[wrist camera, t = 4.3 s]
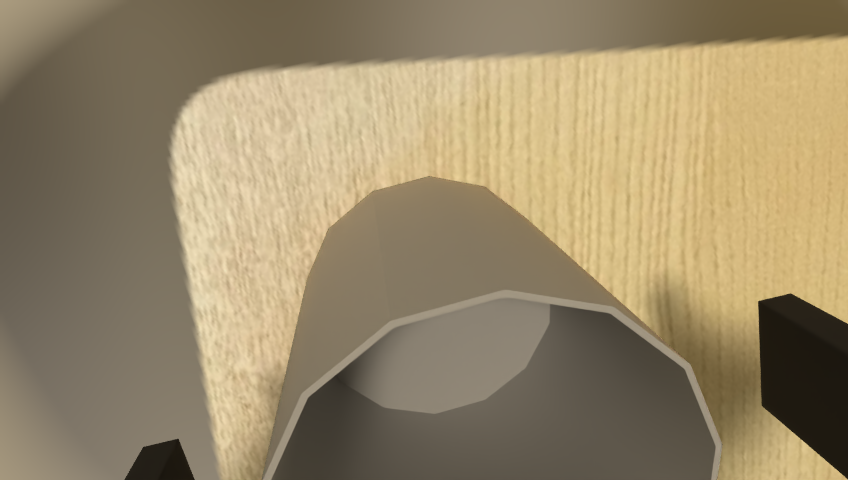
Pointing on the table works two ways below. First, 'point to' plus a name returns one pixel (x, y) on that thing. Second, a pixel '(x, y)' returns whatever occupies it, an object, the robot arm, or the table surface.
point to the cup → (475, 357)
